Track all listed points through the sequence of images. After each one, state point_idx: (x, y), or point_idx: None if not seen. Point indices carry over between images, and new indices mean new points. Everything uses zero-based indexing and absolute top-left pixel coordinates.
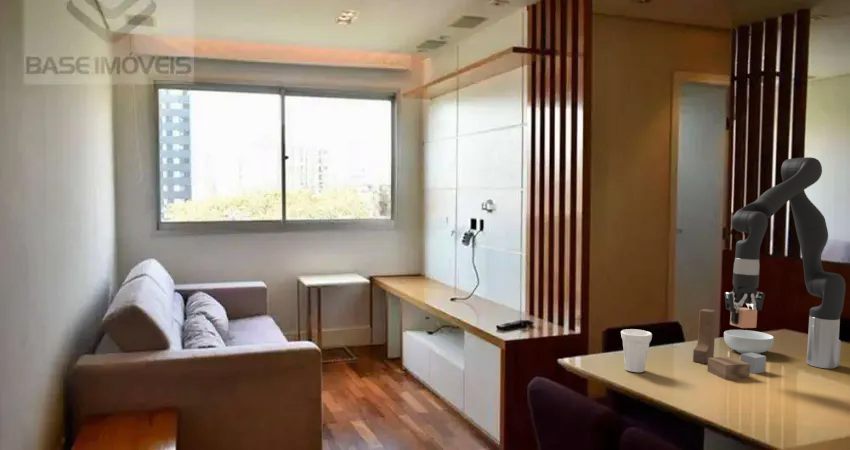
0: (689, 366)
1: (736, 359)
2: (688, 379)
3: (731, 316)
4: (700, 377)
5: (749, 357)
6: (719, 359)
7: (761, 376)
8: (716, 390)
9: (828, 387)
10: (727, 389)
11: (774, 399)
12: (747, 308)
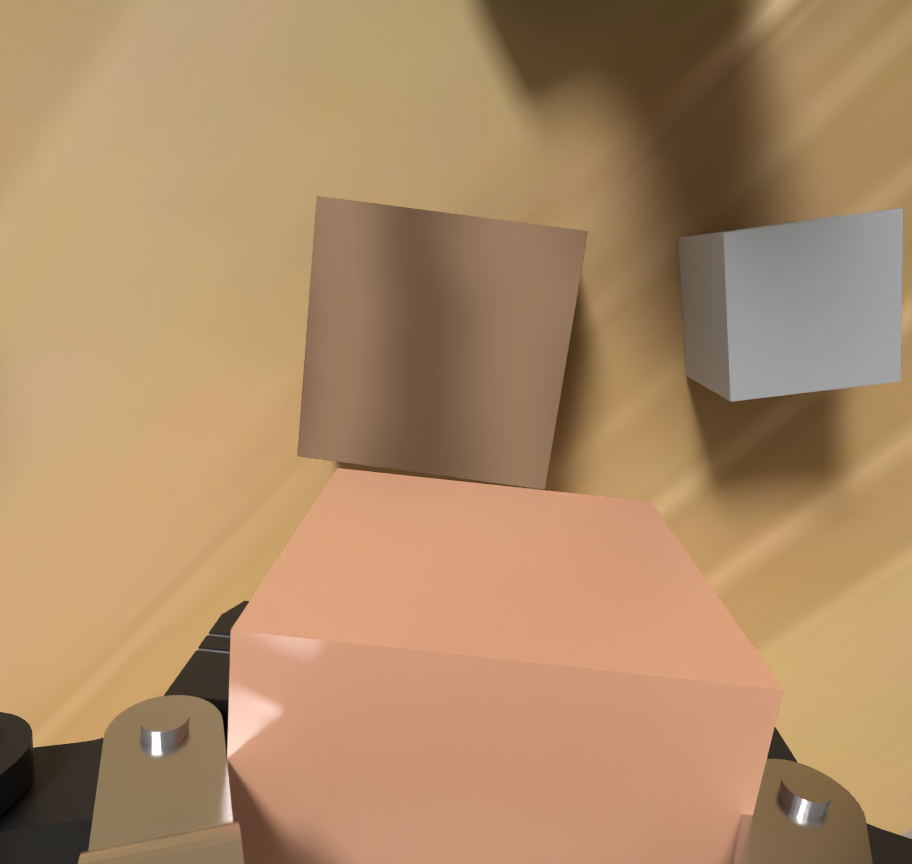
0: (297, 19)
1: (552, 332)
2: (45, 343)
3: (191, 665)
4: (172, 328)
5: (723, 334)
6: (383, 284)
7: (674, 445)
8: (86, 595)
9: (893, 763)
10: (175, 600)
11: None
12: (717, 814)
